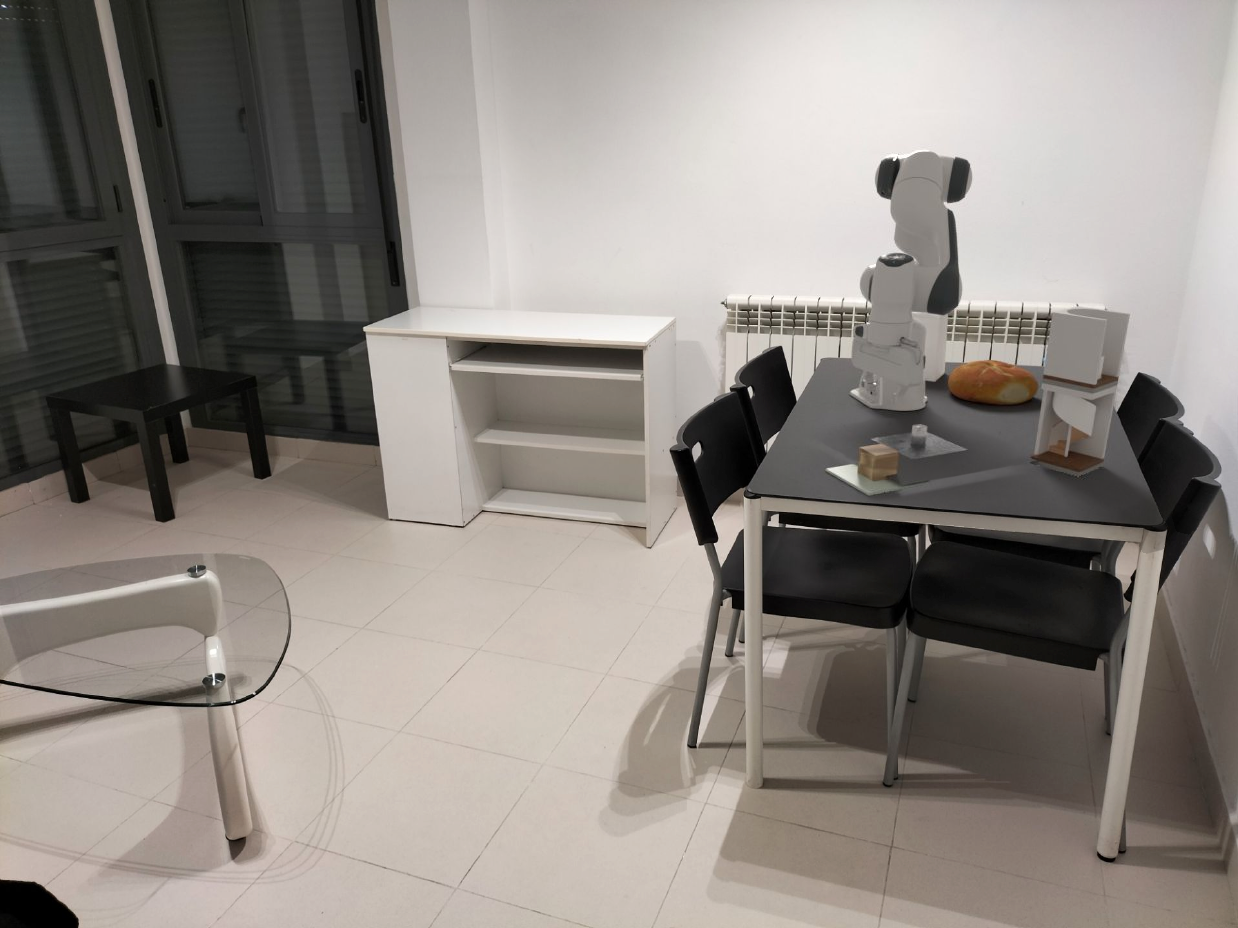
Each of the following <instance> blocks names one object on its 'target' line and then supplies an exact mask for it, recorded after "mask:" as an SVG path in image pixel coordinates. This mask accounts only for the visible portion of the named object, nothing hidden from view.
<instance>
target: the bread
mask: <svg viewBox="0 0 1238 928" xmlns="http://www.w3.org/2000/svg"><path fill="white" fill-rule="evenodd" d="M947 380H948V381H947V382H948V383H947V385H948V388H949V391H950V393H952V395H954V396H955V397H957V398H958V399H961V400H964V401H967V402H974V403H981V404H987V405H988V404H989V405H996V406H998V405H1000V406H1011V405H1019V404H1023V403H1025V402H1026V403H1027V402H1028V401H1029V400H1031V399H1032V398H1034V397H1035V396H1036V394H1037V393H1038V390H1039V382H1038V380H1037V378H1036V377H1035V376H1034V375H1033V374H1032V372H1030V371H1028V370H1027V369H1024V368H1022V367H1019V366H1017V365H1014V364H1011V363H1008V362H1003V361H1001V360H1000V361H999V360H992V359H986V360H985V359H984V360H974V361H970V362H967V363H964V364H960V365H959V366H957V367H956V368H954V370H952V371H951V373H950V375H949V376H948V379H947Z"/></svg>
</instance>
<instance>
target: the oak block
mask: <svg viewBox="0 0 1238 928" xmlns="http://www.w3.org/2000/svg"><path fill="white" fill-rule="evenodd" d="M858 449H859V450H858V460H857V461H858V462H857V463H858V472H857V473H859V474H861V475H863V476H865V477H867V478H868V479H870V480H872V481H879V480H885V479H891V478H890V477H888V476H893V475H897V473H898V467H899V466H898V464H899V457H900V456H899V454H900V453H899V452H898V451H896V450H894V449H892V448H890V447H888V446H886V445H884V444H879V443H877V444H871V445H864V446H860V447H859V448H858Z"/></svg>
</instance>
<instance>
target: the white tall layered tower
mask: <svg viewBox="0 0 1238 928" xmlns="http://www.w3.org/2000/svg"><path fill="white" fill-rule="evenodd" d="M1130 316H1131V313H1129V312H1121V311H1113V310H1107V309H1100V308H1093V307H1086V306H1079V305H1076V306H1073V307H1069V308H1063V309H1060V310H1057V311H1053V312H1052V315H1051V322H1050V328H1049V330H1050V331H1049V336H1048V341H1047V347H1046V353H1045V354H1046V355H1045V358H1046V361H1045V367H1044V366H1043V367H1044V368H1043V375H1042V382H1041V388H1040V389H1041V390H1043V392H1042V398H1041V406H1040V411H1039V412H1040V413H1039V418H1038V427H1037V433H1036V438H1035V445H1034V446H1035V447H1034V453H1033V454H1031V456H1030V457H1031V459H1035V460H1033V461H1030V462H1029V464H1030V463H1032V464H1031V465H1033V464H1034V466H1037V465H1040V466H1042V467H1041V468H1044V467H1046V468H1045V469H1047V468H1049V469H1048V470H1051V469H1053V470H1052V471H1054V470H1056V471H1055V472H1058V471H1061V472H1065V473H1067V474H1066V475H1068V474H1072V475H1074V476H1073V477H1075V476H1081V475H1083V474H1085V475H1087V474H1088V473H1087V472H1090V471H1092V472H1094V471H1096V470H1098V469H1100V468H1099V467H1101V468H1102V466H1103V465H1104V462H1105V461H1104V460H1105V455H1106V449H1107V443H1108V438H1109V433H1110V429H1111V421H1112V418H1113V417H1112V416H1113V411H1114V405H1115V399H1116V395H1117V390H1118V389H1117V388H1118V382H1119V377H1120V371H1121V367H1122V360H1123V354H1124V350H1125V344H1126V338H1127V334H1128V328H1129V321H1130ZM1040 466H1039V467H1040ZM1095 469H1096V470H1095ZM1093 470H1094V471H1093ZM1061 472H1060V473H1061ZM1065 473H1064V474H1065ZM1086 473H1087V474H1086ZM1090 473H1091V472H1090ZM1072 475H1071V476H1072ZM1083 476H1084V475H1083ZM1081 477H1082V476H1081Z"/></svg>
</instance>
